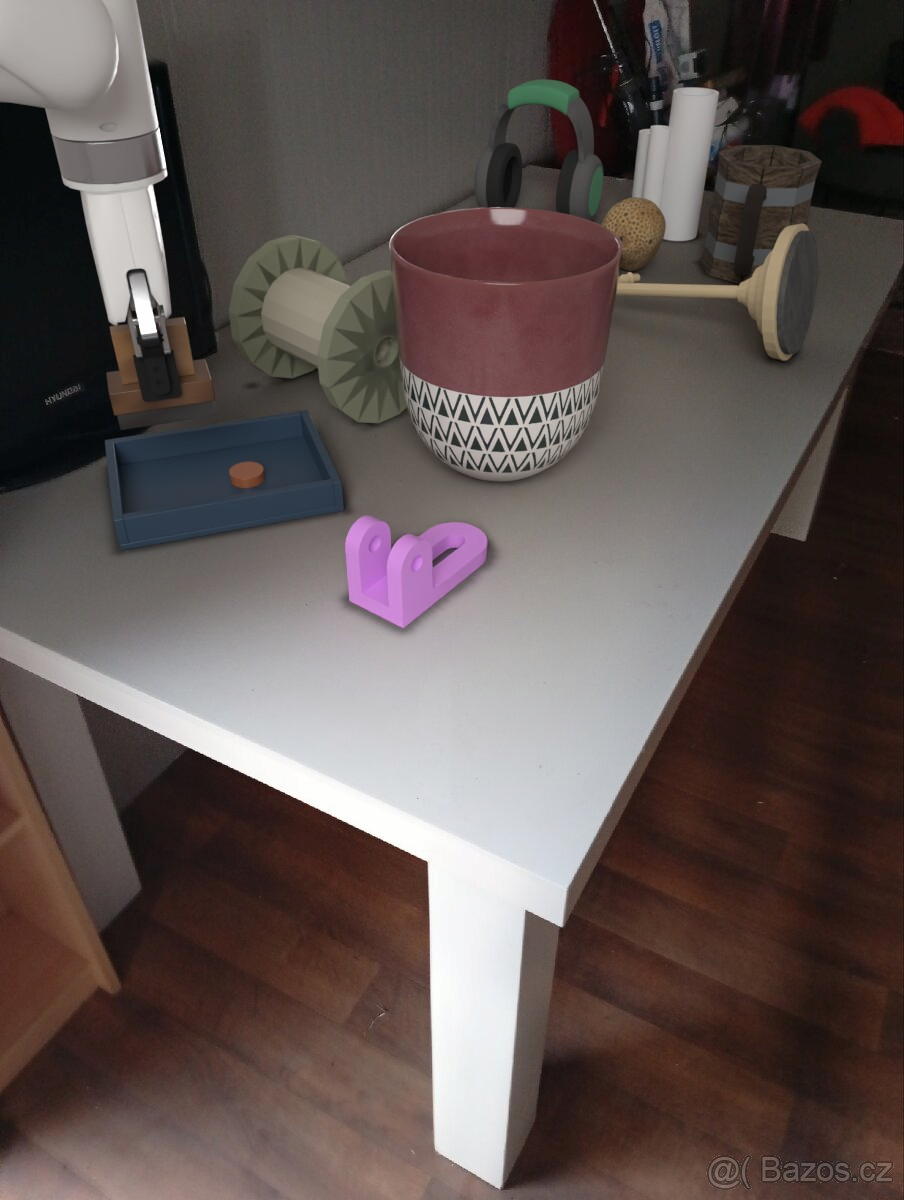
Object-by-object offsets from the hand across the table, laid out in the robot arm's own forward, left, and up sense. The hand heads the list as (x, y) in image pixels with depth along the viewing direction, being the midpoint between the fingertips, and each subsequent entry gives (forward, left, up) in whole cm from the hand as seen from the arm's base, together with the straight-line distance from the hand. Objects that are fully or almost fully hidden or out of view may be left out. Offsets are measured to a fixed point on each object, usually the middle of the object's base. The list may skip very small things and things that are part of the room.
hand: (159, 383), depth 81 cm
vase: (+80, +55, -11) cm, 98 cm away
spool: (+19, +16, -11) cm, 27 cm away
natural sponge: (+67, +41, -11) cm, 79 cm away
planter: (+30, -4, -11) cm, 32 cm away
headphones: (+64, +67, -11) cm, 93 cm away
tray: (+4, 0, -11) cm, 12 cm away
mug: (+82, +34, -11) cm, 89 cm away
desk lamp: (+53, +18, -11) cm, 57 cm away
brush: (0, 0, -3) cm, 3 cm away
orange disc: (+6, 0, -11) cm, 12 cm away
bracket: (+18, -19, -11) cm, 29 cm away
